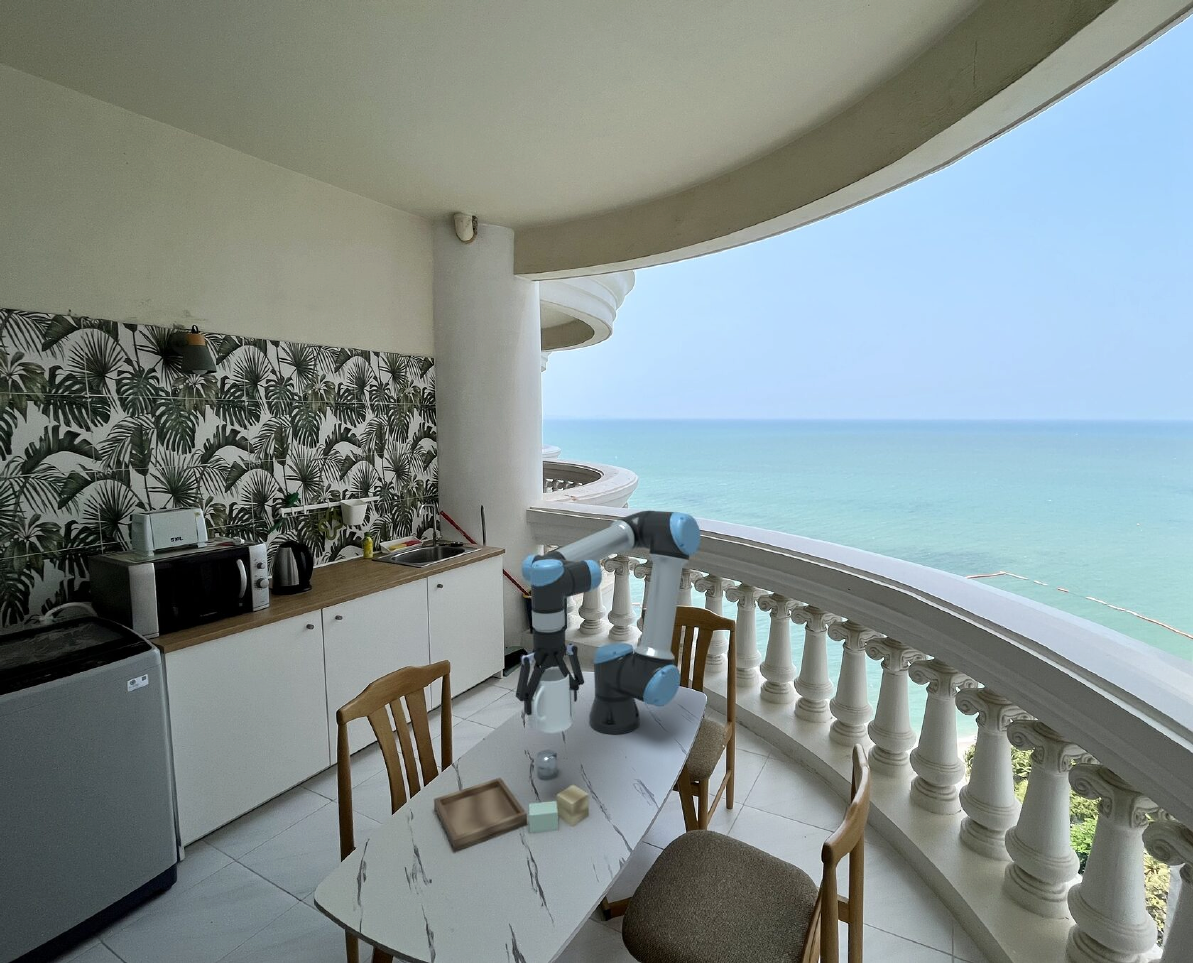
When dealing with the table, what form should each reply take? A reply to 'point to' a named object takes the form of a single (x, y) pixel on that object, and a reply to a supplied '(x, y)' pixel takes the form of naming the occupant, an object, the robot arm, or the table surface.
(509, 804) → the tray
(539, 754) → the grey tin
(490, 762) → the table surface
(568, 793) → the oak block
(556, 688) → the mug
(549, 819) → the sage block
